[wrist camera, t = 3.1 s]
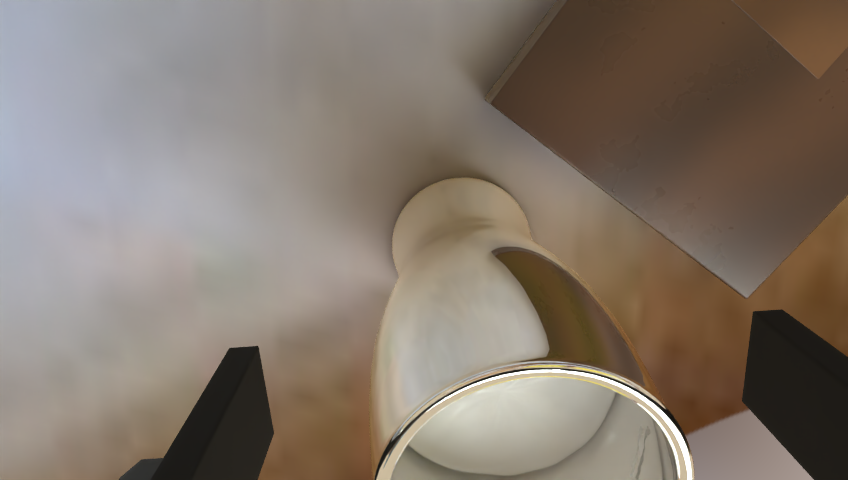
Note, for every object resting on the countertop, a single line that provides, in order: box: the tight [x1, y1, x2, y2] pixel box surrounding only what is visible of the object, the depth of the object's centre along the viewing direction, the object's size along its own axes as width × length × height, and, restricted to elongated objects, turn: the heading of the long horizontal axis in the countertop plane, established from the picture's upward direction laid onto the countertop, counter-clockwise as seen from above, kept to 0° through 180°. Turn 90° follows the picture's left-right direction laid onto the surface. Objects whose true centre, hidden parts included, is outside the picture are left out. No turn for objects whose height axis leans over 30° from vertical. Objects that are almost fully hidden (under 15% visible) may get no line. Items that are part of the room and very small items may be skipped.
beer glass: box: [369, 177, 694, 480], centre depth 19 cm, size 7×7×15 cm
